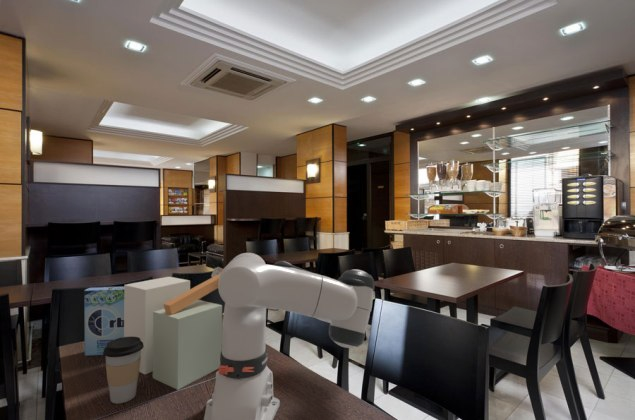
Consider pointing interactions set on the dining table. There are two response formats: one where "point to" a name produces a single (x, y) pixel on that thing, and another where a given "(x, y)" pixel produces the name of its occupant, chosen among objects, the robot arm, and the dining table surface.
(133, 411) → the dining table surface
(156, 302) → the tall stand
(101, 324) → the gum box
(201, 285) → the orange rod
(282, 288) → the robot arm
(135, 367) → the coffee cup
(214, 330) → the low stand
